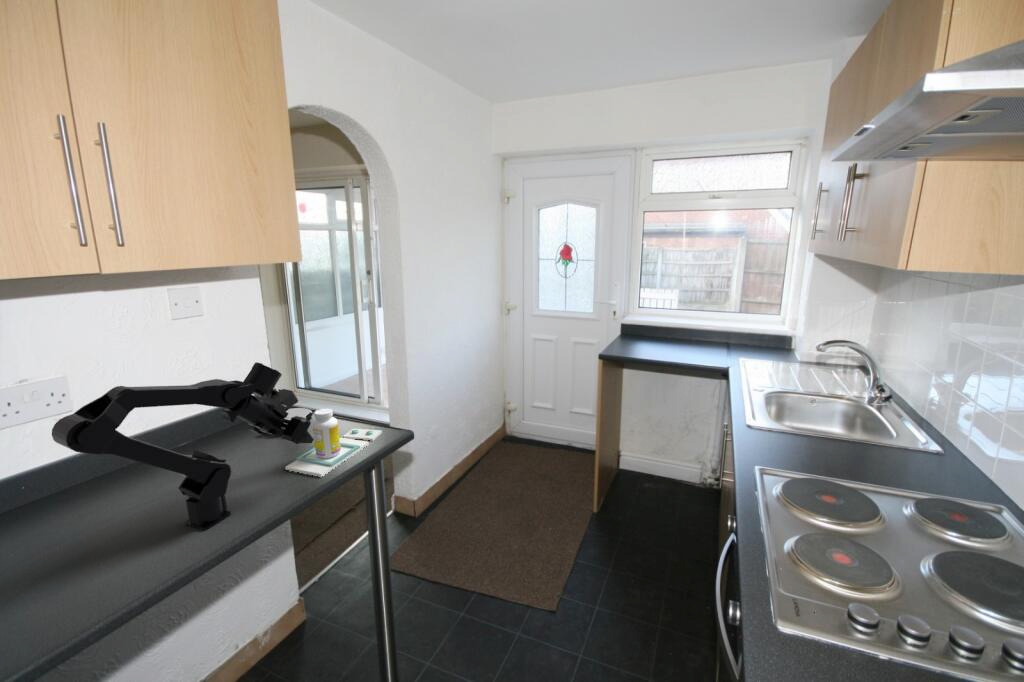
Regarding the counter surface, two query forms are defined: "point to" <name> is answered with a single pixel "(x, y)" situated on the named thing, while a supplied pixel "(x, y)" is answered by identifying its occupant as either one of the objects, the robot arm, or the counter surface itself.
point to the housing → (322, 466)
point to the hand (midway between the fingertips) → (300, 437)
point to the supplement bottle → (326, 434)
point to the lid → (363, 434)
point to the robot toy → (300, 413)
